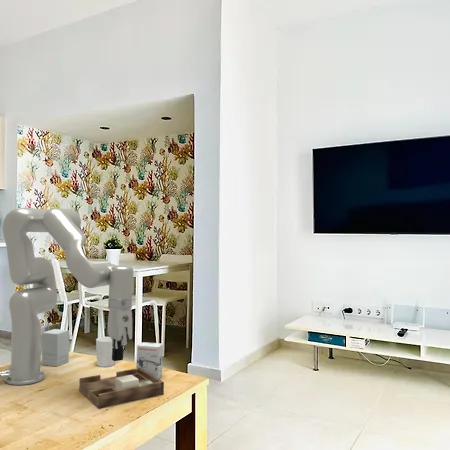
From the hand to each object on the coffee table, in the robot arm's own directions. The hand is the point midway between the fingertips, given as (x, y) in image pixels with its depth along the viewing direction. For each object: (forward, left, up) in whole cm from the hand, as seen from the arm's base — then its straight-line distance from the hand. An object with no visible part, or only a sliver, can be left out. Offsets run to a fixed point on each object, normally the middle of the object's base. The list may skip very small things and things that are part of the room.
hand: (117, 359), depth 146 cm
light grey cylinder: (+9, +32, -11) cm, 35 cm away
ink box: (+16, +9, -11) cm, 21 cm away
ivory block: (+1, -5, -8) cm, 10 cm away
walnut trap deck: (+1, 0, -11) cm, 11 cm away
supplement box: (-7, +44, -11) cm, 46 cm away
